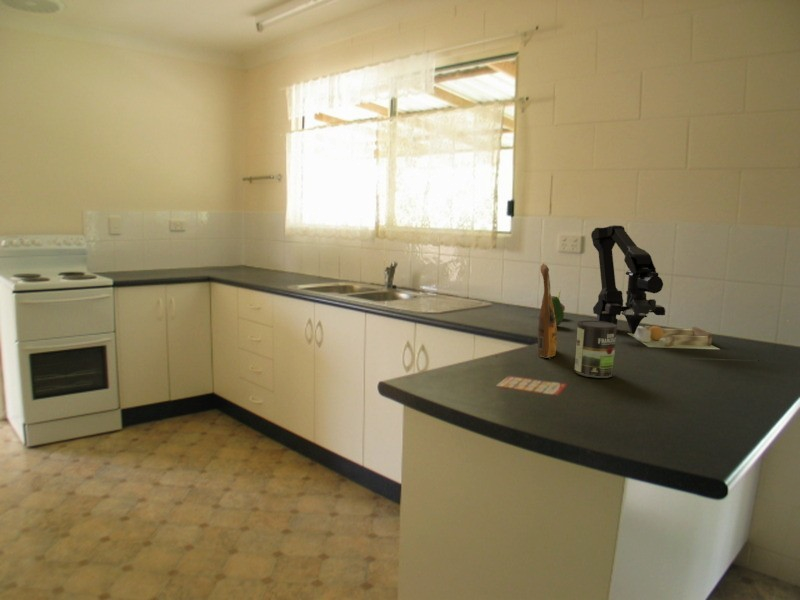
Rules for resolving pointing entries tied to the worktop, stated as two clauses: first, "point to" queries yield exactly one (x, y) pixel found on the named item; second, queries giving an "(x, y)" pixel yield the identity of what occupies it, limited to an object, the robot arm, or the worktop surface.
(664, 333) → the wooden tray
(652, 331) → the ball
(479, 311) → the worktop surface
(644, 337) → the white block
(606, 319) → the robot arm
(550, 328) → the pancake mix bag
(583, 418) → the worktop surface
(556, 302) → the fruit
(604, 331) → the coffee can
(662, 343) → the white flat square board
